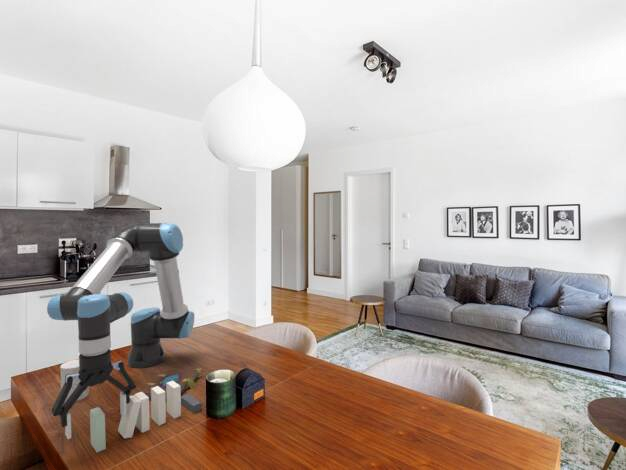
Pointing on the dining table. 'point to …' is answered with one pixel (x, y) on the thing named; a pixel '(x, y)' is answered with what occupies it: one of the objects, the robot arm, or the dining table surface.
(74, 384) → the cup
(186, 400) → the stop bar
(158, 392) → the domino
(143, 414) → the domino
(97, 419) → the domino
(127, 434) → the domino
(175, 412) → the domino
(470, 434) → the dining table surface
